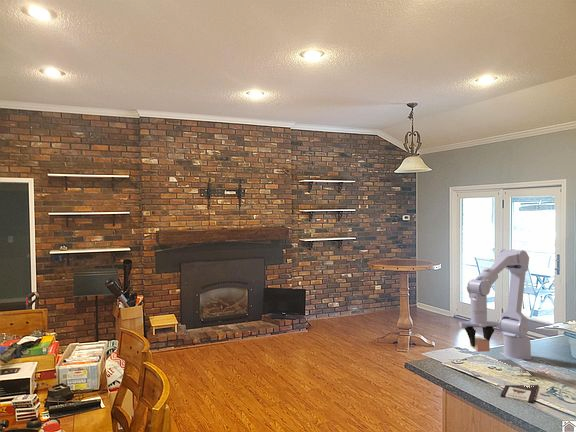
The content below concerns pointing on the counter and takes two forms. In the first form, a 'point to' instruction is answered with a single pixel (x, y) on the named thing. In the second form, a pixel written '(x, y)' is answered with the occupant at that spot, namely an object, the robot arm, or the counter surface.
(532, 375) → the mat
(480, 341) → the card box
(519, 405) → the counter surface
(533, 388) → the chocolate bar
